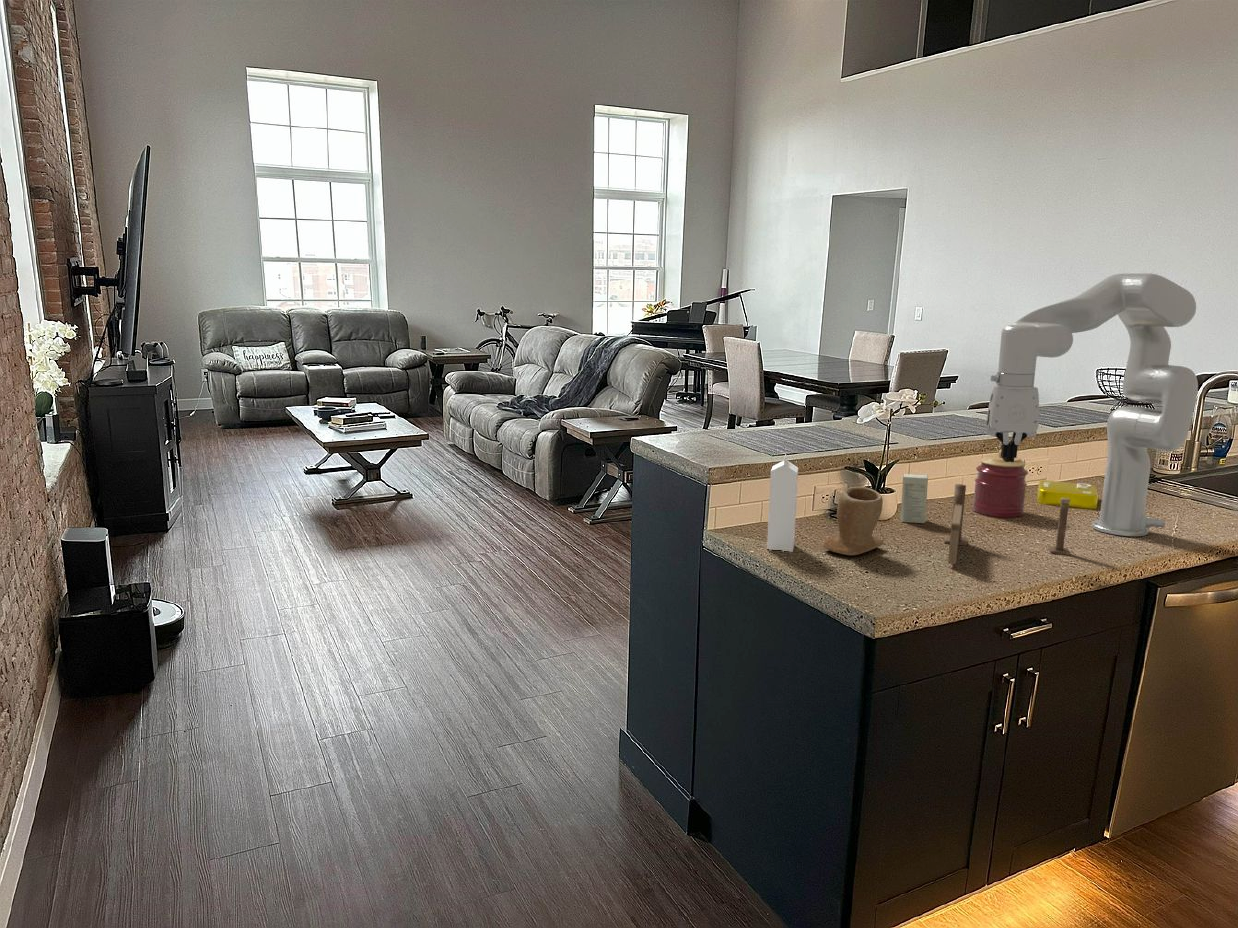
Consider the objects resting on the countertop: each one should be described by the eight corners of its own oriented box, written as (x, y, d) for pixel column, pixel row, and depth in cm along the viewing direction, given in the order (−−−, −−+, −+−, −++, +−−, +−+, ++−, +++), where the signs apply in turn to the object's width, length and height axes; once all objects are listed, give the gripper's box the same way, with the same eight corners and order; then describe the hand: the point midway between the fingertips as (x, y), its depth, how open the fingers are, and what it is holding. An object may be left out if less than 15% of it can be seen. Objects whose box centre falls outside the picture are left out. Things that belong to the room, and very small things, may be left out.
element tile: (1037, 493, 256) (1039, 478, 255) (1094, 499, 249) (1096, 483, 248) (1037, 504, 243) (1039, 488, 242) (1096, 511, 236) (1098, 494, 235)
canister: (972, 515, 229) (978, 451, 225) (971, 504, 241) (977, 443, 237) (1025, 520, 224) (1032, 455, 221) (1022, 509, 236) (1029, 446, 232)
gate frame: (944, 543, 203) (949, 486, 201) (943, 537, 208) (949, 482, 205) (1070, 555, 195) (1077, 496, 192) (1066, 549, 199) (1073, 492, 196)
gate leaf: (951, 538, 204) (955, 503, 202) (958, 539, 203) (962, 504, 201) (947, 563, 186) (951, 524, 184) (955, 564, 185) (959, 525, 183)
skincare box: (925, 519, 224) (929, 474, 221) (925, 524, 220) (929, 478, 217) (899, 517, 226) (903, 472, 223) (899, 521, 222) (903, 476, 219)
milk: (766, 550, 197) (770, 457, 192) (768, 542, 203) (772, 452, 198) (793, 552, 195) (797, 459, 191) (794, 544, 201) (798, 453, 197)
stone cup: (858, 563, 188) (863, 498, 185) (815, 550, 197) (819, 488, 194) (897, 550, 198) (902, 488, 194) (854, 539, 206) (858, 479, 203)
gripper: (984, 382, 187) (978, 463, 191) (1057, 383, 185) (1048, 465, 189) (976, 378, 194) (969, 456, 198) (1045, 379, 192) (1037, 458, 196)
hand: (1008, 460), depth 193 cm, fingers closed
